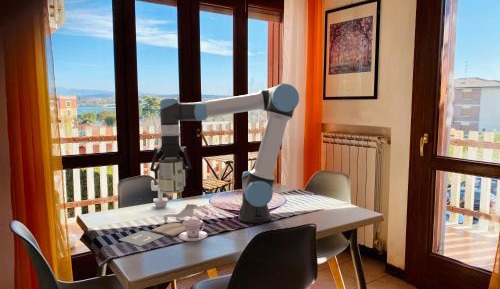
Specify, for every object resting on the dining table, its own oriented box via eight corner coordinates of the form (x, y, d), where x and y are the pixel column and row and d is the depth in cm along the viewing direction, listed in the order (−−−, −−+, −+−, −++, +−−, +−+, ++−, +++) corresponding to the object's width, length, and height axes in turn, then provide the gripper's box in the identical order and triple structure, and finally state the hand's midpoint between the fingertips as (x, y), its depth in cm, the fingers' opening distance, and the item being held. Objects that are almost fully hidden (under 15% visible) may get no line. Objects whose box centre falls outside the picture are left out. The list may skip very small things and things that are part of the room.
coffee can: (164, 187, 165) (163, 156, 164) (186, 188, 164) (185, 156, 163) (155, 193, 155) (154, 160, 154) (179, 193, 154) (179, 160, 153)
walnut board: (193, 228, 164) (193, 226, 164) (173, 237, 153) (173, 235, 153) (172, 223, 171) (172, 221, 171) (151, 231, 160) (151, 229, 159)
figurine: (170, 207, 198) (169, 179, 196) (152, 208, 195) (151, 180, 193) (168, 203, 204) (168, 177, 203) (151, 205, 201) (150, 178, 200)
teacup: (179, 243, 147) (179, 228, 146) (177, 233, 158) (177, 219, 158) (209, 240, 150) (209, 225, 149) (205, 230, 162) (205, 216, 161)
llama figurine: (200, 232, 179) (161, 219, 174) (210, 208, 178) (171, 195, 174) (200, 233, 177) (161, 221, 172) (210, 210, 176) (171, 196, 172)
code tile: (164, 236, 154) (164, 235, 154) (140, 246, 143) (140, 245, 143) (142, 230, 161) (142, 230, 161) (118, 240, 150) (118, 239, 150)
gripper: (142, 136, 151) (144, 189, 153) (197, 134, 156) (198, 186, 159) (142, 134, 158) (144, 185, 161) (195, 133, 164) (197, 182, 166)
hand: (171, 186), depth 160 cm, fingers closed on coffee can, 10 cm apart
